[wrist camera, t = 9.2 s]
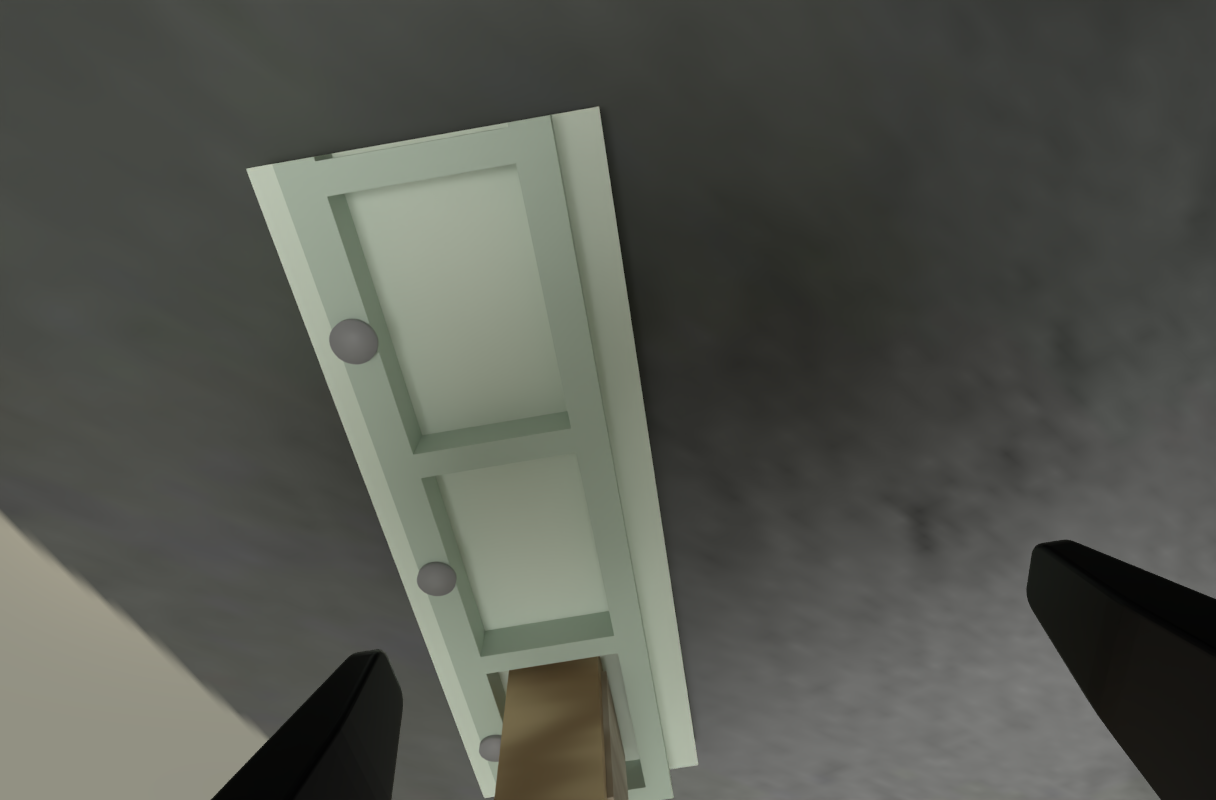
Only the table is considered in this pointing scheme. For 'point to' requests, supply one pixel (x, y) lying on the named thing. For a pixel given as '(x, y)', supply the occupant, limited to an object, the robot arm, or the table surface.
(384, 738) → the robot arm
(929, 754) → the table surface
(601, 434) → the rail board
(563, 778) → the tan rectangular box
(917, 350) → the table surface
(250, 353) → the table surface
